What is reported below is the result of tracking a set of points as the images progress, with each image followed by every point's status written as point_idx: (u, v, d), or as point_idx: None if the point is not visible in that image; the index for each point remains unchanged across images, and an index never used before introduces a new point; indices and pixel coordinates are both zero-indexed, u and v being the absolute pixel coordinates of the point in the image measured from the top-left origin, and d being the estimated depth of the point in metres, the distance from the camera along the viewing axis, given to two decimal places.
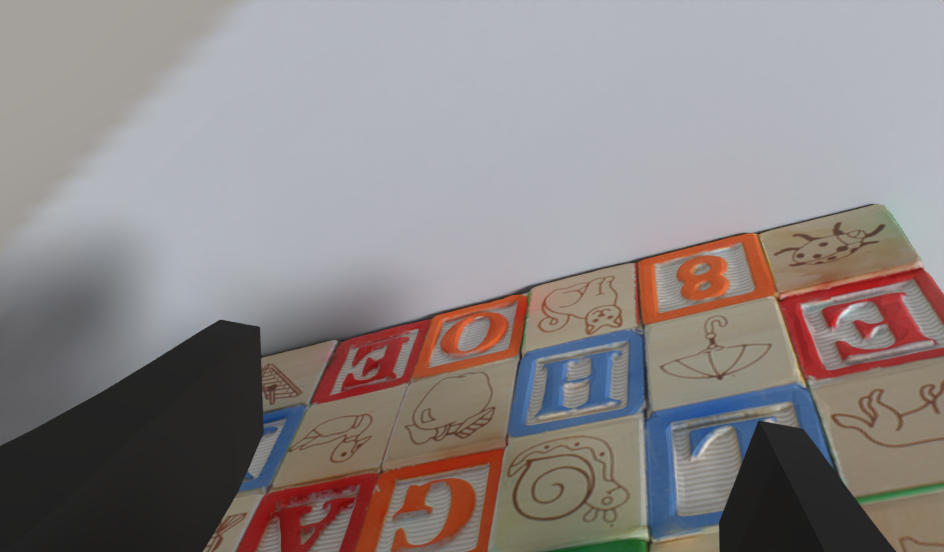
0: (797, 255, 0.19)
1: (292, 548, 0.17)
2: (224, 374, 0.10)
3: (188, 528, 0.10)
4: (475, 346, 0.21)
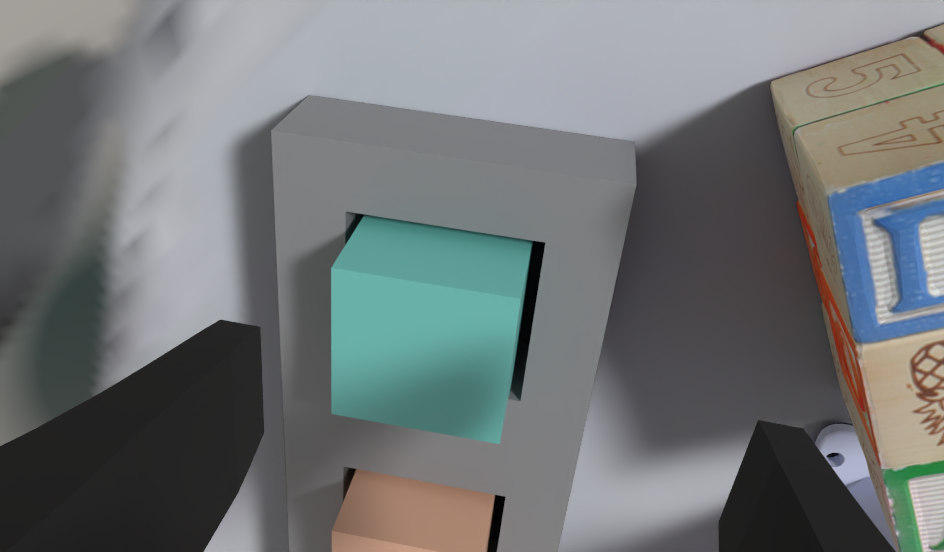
0: None
1: None
2: (224, 375, 0.10)
3: (188, 528, 0.10)
4: None
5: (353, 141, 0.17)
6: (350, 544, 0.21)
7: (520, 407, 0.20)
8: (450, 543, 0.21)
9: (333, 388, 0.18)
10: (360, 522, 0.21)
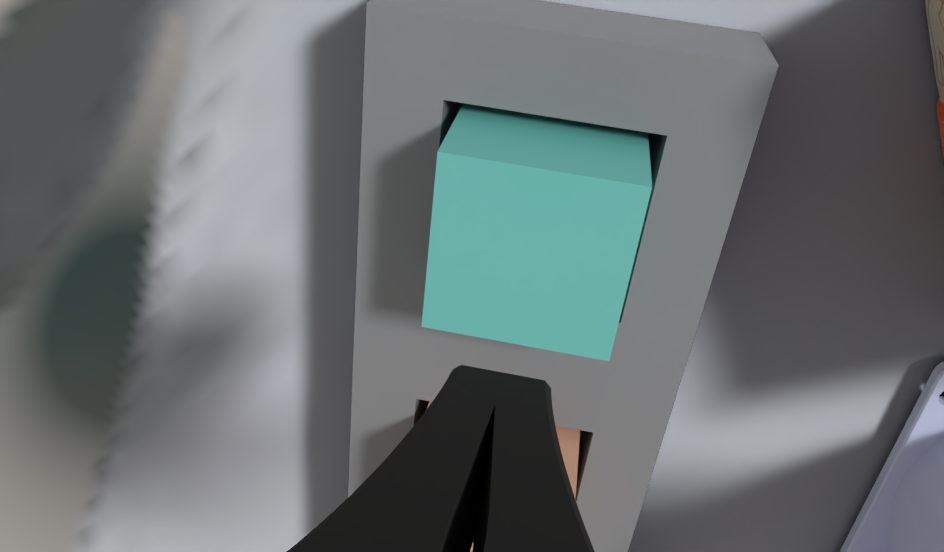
0: None
1: None
2: (490, 425, 0.10)
3: None
4: None
5: (459, 16, 0.16)
6: None
7: (620, 329, 0.19)
8: None
9: (426, 296, 0.17)
10: None
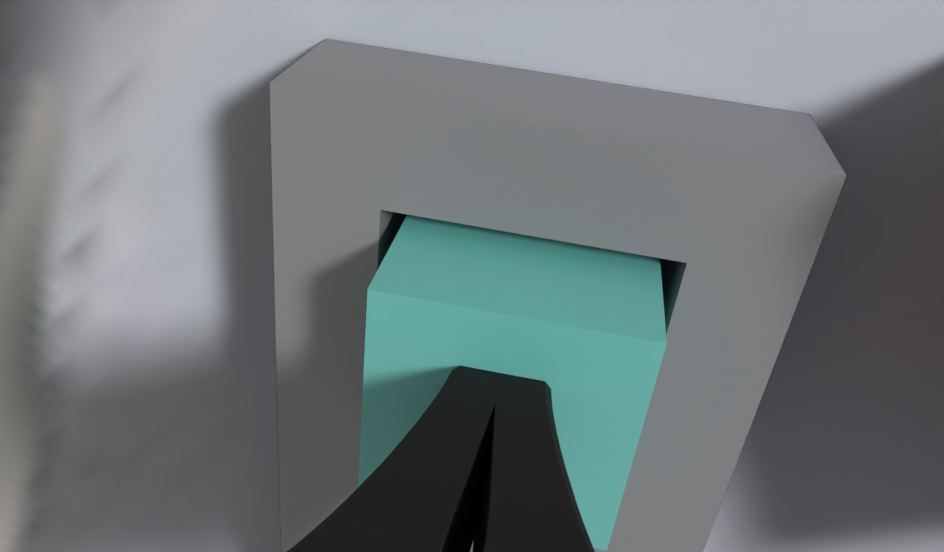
0: None
1: None
2: (490, 425, 0.10)
3: None
4: None
5: (397, 101, 0.11)
6: None
7: None
8: None
9: (362, 464, 0.12)
10: None
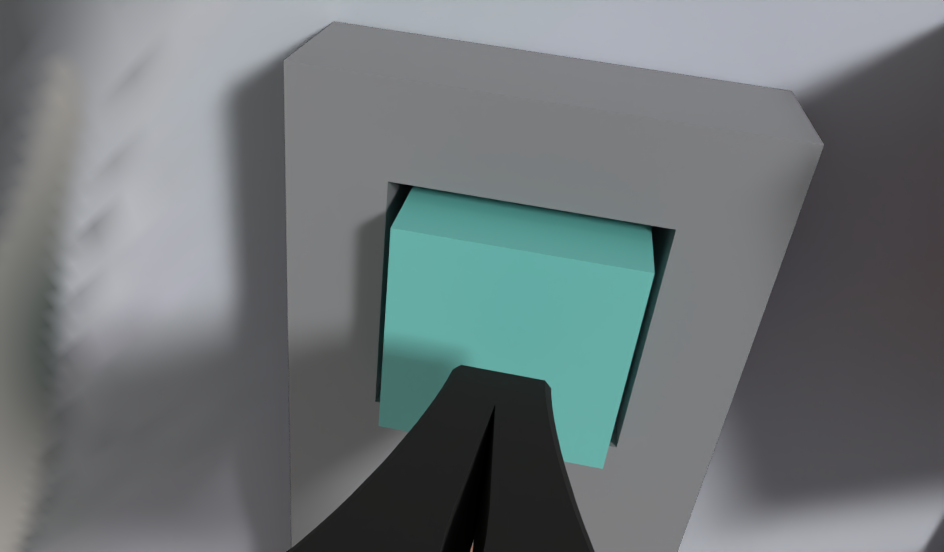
0: None
1: None
2: (490, 425, 0.10)
3: None
4: None
5: (404, 77, 0.12)
6: None
7: (615, 455, 0.15)
8: None
9: (382, 392, 0.14)
10: None
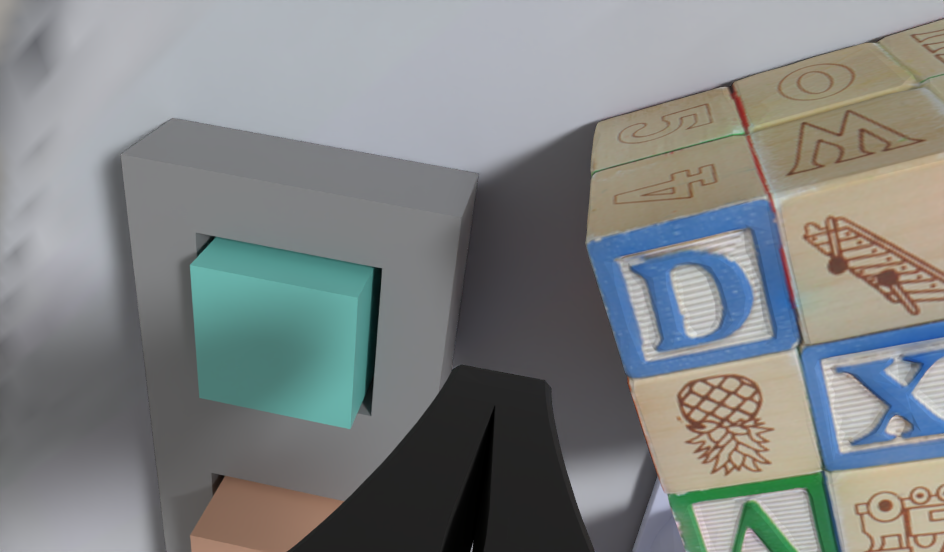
0: None
1: None
2: (490, 426, 0.10)
3: None
4: None
5: (198, 167, 0.18)
6: (208, 548, 0.22)
7: (371, 421, 0.21)
8: None
9: (199, 374, 0.20)
10: (219, 528, 0.22)
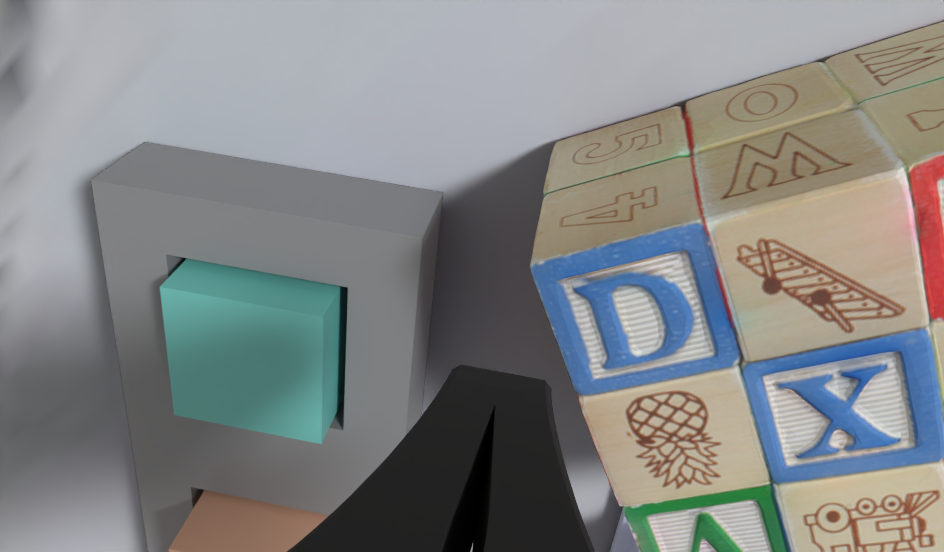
0: None
1: None
2: (490, 425, 0.10)
3: None
4: None
5: (166, 191, 0.19)
6: None
7: (344, 436, 0.22)
8: None
9: (172, 391, 0.21)
10: (198, 541, 0.23)
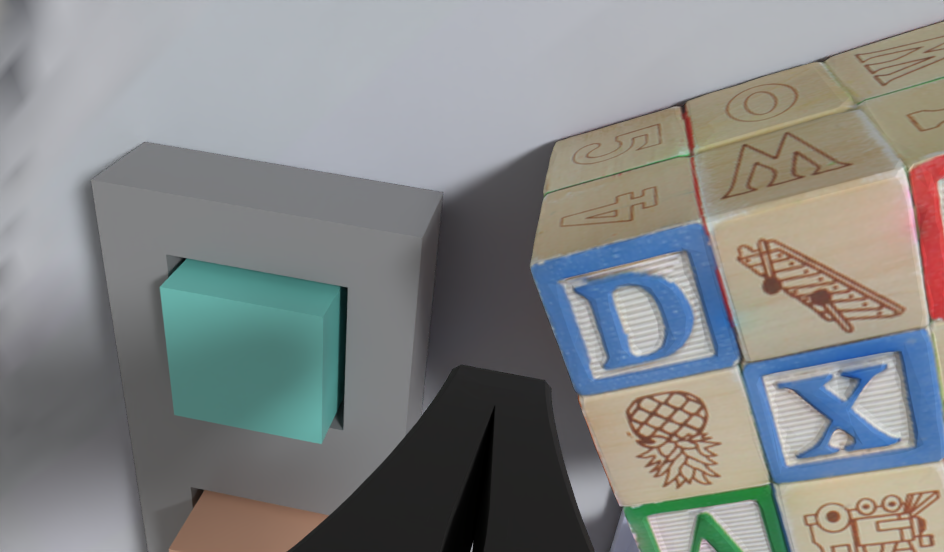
0: None
1: None
2: (490, 425, 0.10)
3: None
4: None
5: (166, 191, 0.19)
6: None
7: (344, 436, 0.22)
8: None
9: (172, 391, 0.21)
10: (198, 541, 0.23)
